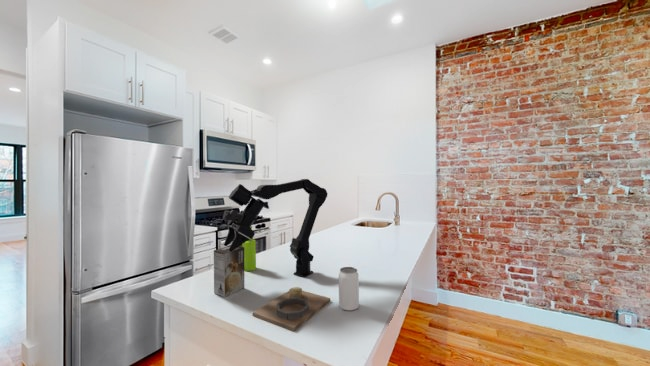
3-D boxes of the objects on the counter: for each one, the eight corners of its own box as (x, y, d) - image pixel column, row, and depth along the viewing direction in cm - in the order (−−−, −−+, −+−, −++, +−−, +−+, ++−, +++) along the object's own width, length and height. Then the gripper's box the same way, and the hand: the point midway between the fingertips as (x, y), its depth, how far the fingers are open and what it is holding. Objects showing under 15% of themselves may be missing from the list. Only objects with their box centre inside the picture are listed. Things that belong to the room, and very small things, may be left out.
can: (358, 312, 79) (357, 274, 79) (337, 310, 81) (337, 272, 80) (359, 302, 86) (359, 267, 86) (340, 300, 87) (340, 265, 87)
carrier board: (293, 290, 95) (293, 281, 95) (330, 301, 87) (330, 291, 87) (252, 315, 78) (252, 304, 78) (293, 331, 70) (293, 319, 70)
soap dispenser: (242, 267, 122) (241, 225, 121) (257, 266, 122) (256, 225, 122) (239, 271, 116) (238, 227, 116) (254, 270, 116) (254, 227, 116)
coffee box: (233, 284, 101) (234, 244, 100) (244, 288, 98) (245, 246, 97) (213, 293, 93) (213, 250, 93) (224, 298, 90) (224, 253, 89)
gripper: (228, 200, 104) (204, 233, 100) (239, 203, 89) (211, 243, 84) (250, 214, 109) (229, 246, 105) (265, 219, 93) (240, 258, 89)
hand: (227, 248), depth 95 cm, fingers open, 9 cm apart
